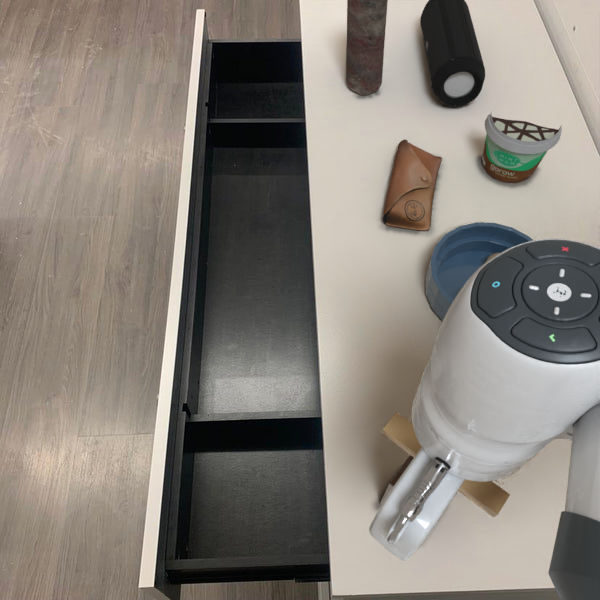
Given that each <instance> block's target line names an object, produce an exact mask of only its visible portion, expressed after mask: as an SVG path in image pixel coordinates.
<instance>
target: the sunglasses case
mask: <svg viewBox="0 0 600 600" xmlns="http://www.w3.org/2000/svg"><path fill="white" fill-rule="evenodd" d="M442 161H443V157H442V156H437V155H434V154H432V153H430V152H429V151H426V150H424V149H422V148H420V147H418V146H417V145H414V144H412V143H411V142H409V141H408V140H407V139H406V138H405V139H402V140H401V141H399V143H398V144H397V148H396V152H395V157H394V161H393V165H392V170H391V175H390V179H389V183H388V187H387V191H386V197H385V201H384V207H383V212H382V222H383V224H385V225H386V226H387V227H391V228H397V229H402V230H410V231H419V232H427V231H429V230H430V229H431V225H432V211H433V202H434V195H435V190H436V185H437V180H438V174H439V171H440V168H441V164H442Z"/></svg>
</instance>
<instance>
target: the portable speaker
mask: <svg viewBox="0 0 600 600" xmlns="http://www.w3.org/2000/svg"><path fill="white" fill-rule="evenodd" d="M419 24H420V29H421V33H422V39H423V46H424V50H425V56H426V61H427V67H428V73H429V78H430V84H431V90H432V93H433V95H434V96H435V97H436V98H437V99H438V101H440V103H442V104H443V105H445V106H447V107H454V108H456V107H457V108H459V107H463V106H466V105H468V104H470V103H471V102H473V101H474V100H475V99H477V98H478V96H479V95H480V93H481V92H482V89H483V86H484V83H485V80H486V69H485V64H484V61H483V56H482V53H481V48H480V46H479V42H478V39H477V34H476V30H475V28H474V27H475V26H474V23H473V20H472V16H471V12H470V8H469V5H468V4H467V2H466V0H428V1H427V2H426V4H425V5H424V7H423V9H422V12H421V15H420V19H419Z"/></svg>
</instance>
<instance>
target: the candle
mask: <svg viewBox="0 0 600 600" xmlns="http://www.w3.org/2000/svg"><path fill="white" fill-rule="evenodd" d="M387 14H388V0H347V1H346V46H345V83H346V85H347V86H348V88H349V89H350V90H351V91H353V92H355V93H357V94H358V95H360V96H370V95H372V94H373V93H376V92H378V91H379V89H380V87H381V86H382V83H383V73H384V72H383V71H384V55H385V40H386V26H387Z"/></svg>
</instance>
